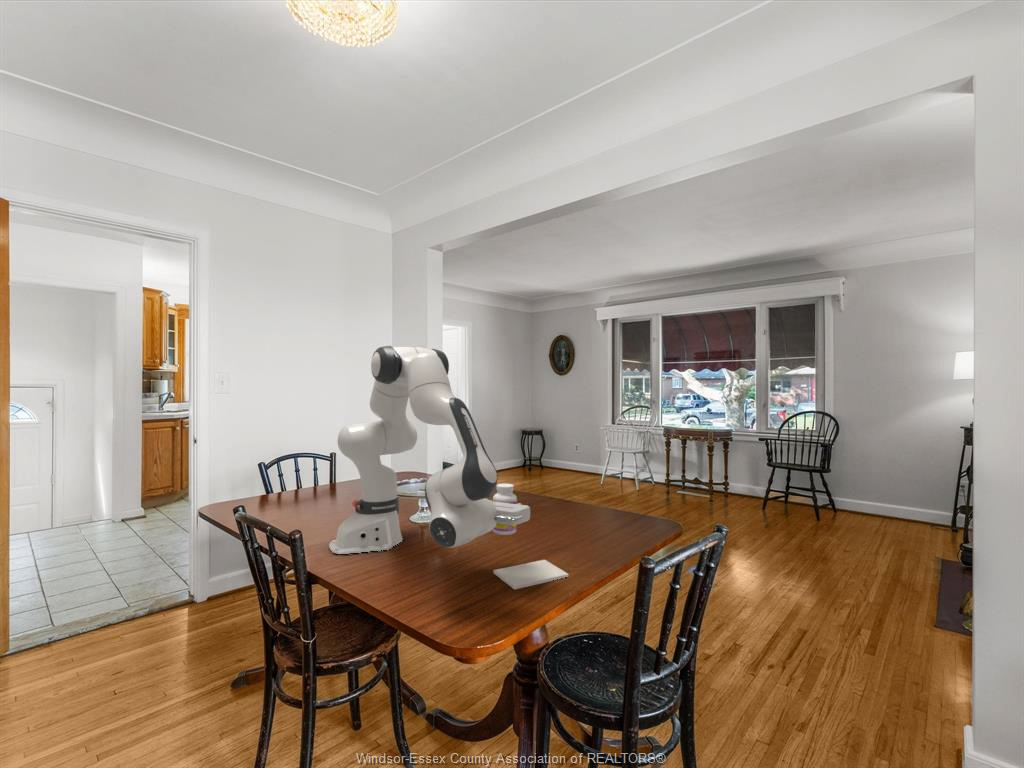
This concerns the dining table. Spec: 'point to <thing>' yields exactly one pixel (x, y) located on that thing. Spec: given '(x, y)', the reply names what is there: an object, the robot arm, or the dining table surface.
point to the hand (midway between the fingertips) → (506, 504)
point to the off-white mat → (530, 574)
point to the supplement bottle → (505, 496)
